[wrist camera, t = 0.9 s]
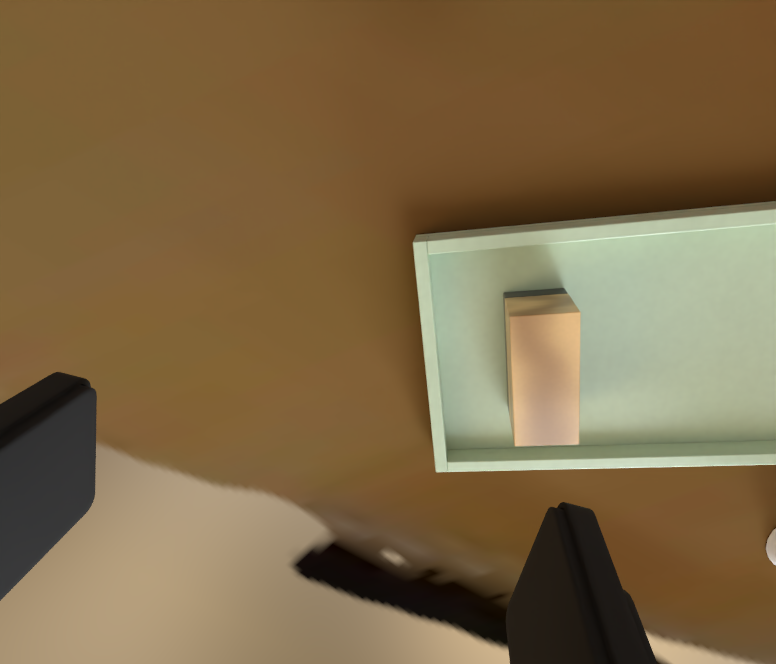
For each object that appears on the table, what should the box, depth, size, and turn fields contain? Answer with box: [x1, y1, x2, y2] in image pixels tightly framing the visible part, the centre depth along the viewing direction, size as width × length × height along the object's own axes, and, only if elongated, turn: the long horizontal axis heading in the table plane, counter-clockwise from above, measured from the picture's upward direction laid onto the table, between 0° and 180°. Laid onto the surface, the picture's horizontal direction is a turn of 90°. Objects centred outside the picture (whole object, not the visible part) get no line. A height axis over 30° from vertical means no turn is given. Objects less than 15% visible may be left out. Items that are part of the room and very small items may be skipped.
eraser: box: [503, 288, 581, 446], centre depth 31 cm, size 4×8×4 cm, turn 6°
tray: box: [413, 201, 776, 472], centre depth 32 cm, size 26×16×2 cm, turn 96°
